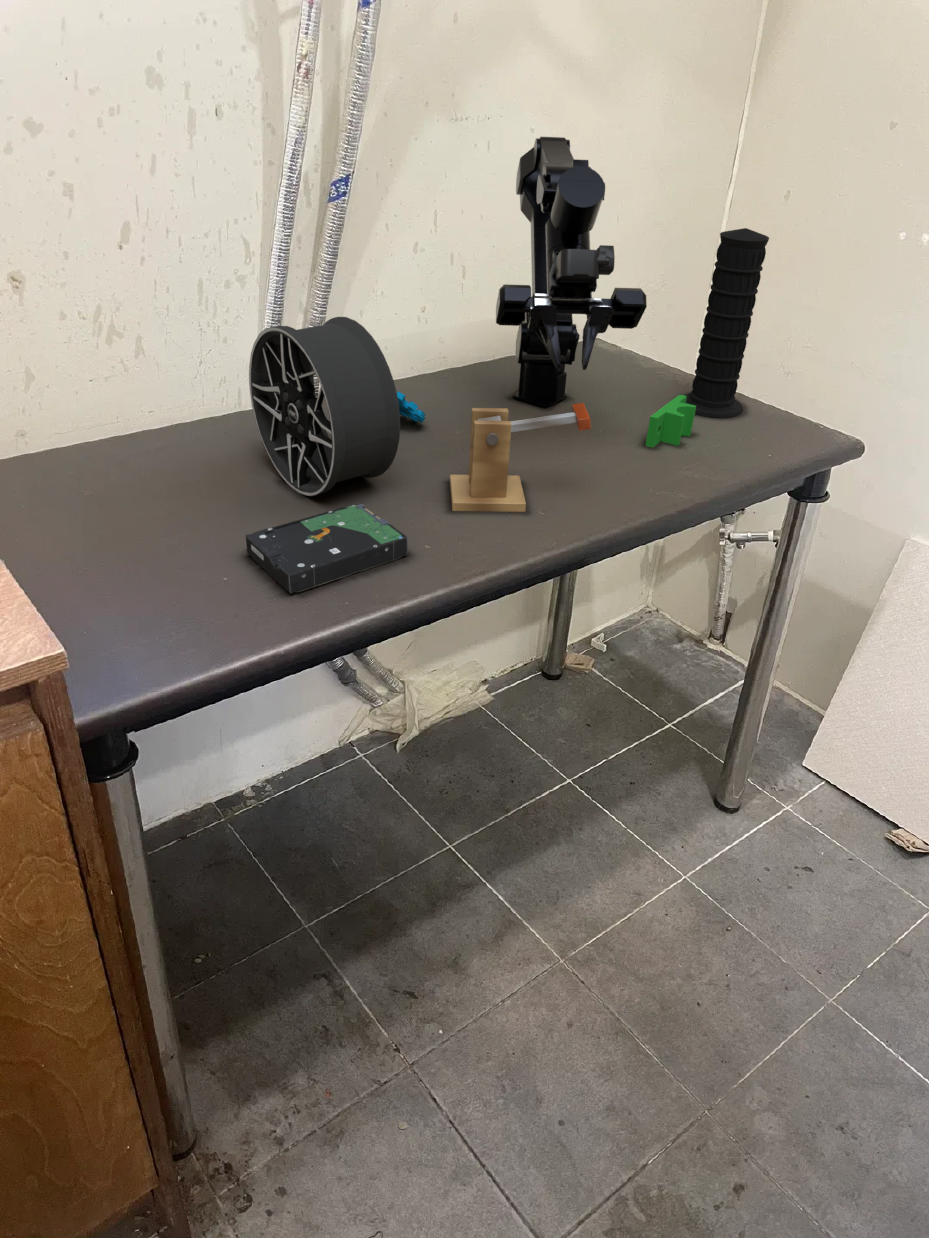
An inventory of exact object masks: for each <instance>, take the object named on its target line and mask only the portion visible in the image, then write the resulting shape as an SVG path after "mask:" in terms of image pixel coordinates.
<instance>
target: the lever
mask: <svg viewBox="0 0 929 1238" xmlns="http://www.w3.org/2000/svg"><path fill="white" fill-rule="evenodd" d="M585 405H586V404H585V403H584V402H579V403H573V404H571V411H572V412H571V411H570V412H566V413H560V414H559V413H557V414H551V415H544V416H538V417H531V418H525V419H518V420H510V421H511V424H512V426H511V433H515V432H522V431H523V432H524V431H529V430H530V431H531V430H536V429H543V428H550V427H557V426H565V425H570V424H576V427H577V429H578V431H579V432H580V431H587V430H591V429H592V424H591V423H592V422H591V417H590V414H589V412H588V410H587V408H586V406H585ZM478 421H501V417H500V416H495V417H488V418H481V419H478Z"/></svg>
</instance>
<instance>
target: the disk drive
mask: <svg viewBox="0 0 929 1238" xmlns="http://www.w3.org/2000/svg"><path fill="white" fill-rule="evenodd" d="M365 507H366V505H365V504H363V503H361V504H357V505H356V504H352V505H348V506H340V507H338V508H335V509H332V510H330V511H323V512H321V513H316V514H314V515H310V516H306V517H303V518H299V519H298V520H292V521H289V522H286V523H282V524H279V525H276V526H272V527H269V528H265V529H261V530H258V531H254V532H252V533H248V534H246V535H245V543H246V552H247V554H248V555H249V556H250V557H251V558H252V559H253V560H254V561H255V563H257V565H259V566H260V567H261V568H262V569H263V570H264V571H265V572H266V573H268V574H269V576H271V578H273V579H274V580H275V581H276V582H277V583H278V584H279V585H280V586H281V587H282V588H284V589H285V590H286V591H287V592H288V593H290V594H293V593H301V592H303V591H306V590H310V589H312V588H315V587H318V586H322V585H324V584H328V583H330V582H333V581H336V580H339V579H342V578H345V577H348V576H351V575H353V574H356V573H358V572H359V573H360V572H363V571H367V570H370V569H373V568H376V567H379V566H382V565H384V564H388V563H390V562H393V561H396V560H399V559H402V558H403V557H405V556H408V554H409V553H408V551H409V550H408V548H409V547H408V545H409V544H408V541H409V540H408V539H409V538H408V535H406V534H404V533H403V532H402V531H401V530H399V529H398V528H396V527H395V526H394V525H393V524H391V523H389V521H387V520H386V519H384V518H383V517H382V518H380V517H379V515H376V513H373V512H372V511H371V510H369V509H368V508H365Z"/></svg>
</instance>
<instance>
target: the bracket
mask: <svg viewBox="0 0 929 1238" xmlns="http://www.w3.org/2000/svg"><path fill="white" fill-rule="evenodd" d="M495 416H500V417H501V421H478V419H481V418H488V417H495ZM470 419H471V420H470V439H469V460H468V461H469V462H468V474H449V491H450V502H451V511H453V512H507V513H508V512H510V513H511V512H513V513H515V512H517V513H518V512H519V513H525V512H526V509H527V503H526V502H527V501H526V498H525V494H524V490H523V485H522V481H521V477H520V475H509V465H510V454H511V453H510V450H511V440H512V439H511V437H512V432H511V426H512V424H511V421H512V420H509V408H505V407H503V408H501V407H498V408H497V407H471V417H470Z"/></svg>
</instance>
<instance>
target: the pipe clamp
mask: <svg viewBox="0 0 929 1238" xmlns="http://www.w3.org/2000/svg"><path fill="white" fill-rule="evenodd" d="M684 395H685V394H678V395H677V396H676V397H674V398H673V399H672V400H670V401H669V402H668V403H666V404H665V405H664V406H662V407H661V408H660V409H658V410H657V411H656V412H654V413H653V414H652V415H650V416H649V422H648V427H647V434H646V440H645V447H649V448H652V449H653V448H655V446H657V445H658V444H659V443H661V442H662V443H667V444H669V445H673V446H676V447H679V446H680V444H681V439H682V436H683V437H690V436H691V435H692V432H693V431H692V430H693V425H694V419H695V415H696V414H695V410H696V406H694V405H690V404H686V398H687V396H684Z"/></svg>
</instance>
